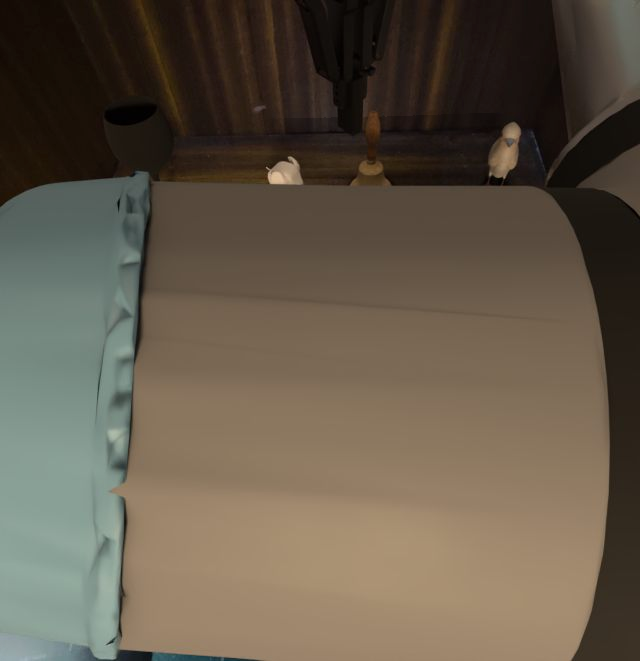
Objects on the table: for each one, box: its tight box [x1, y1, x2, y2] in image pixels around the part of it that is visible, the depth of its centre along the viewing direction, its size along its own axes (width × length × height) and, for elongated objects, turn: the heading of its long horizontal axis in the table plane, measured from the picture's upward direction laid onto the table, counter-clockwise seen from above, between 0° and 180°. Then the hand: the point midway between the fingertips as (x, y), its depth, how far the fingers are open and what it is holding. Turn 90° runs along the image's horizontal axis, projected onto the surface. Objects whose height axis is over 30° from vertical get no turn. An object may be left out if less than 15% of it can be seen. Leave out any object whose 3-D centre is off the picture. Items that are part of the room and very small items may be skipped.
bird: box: [482, 121, 522, 186], centre depth 91 cm, size 5×14×15 cm, turn 163°
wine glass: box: [102, 94, 175, 182], centre depth 90 cm, size 10×10×20 cm
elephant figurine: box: [265, 155, 305, 185], centre depth 97 cm, size 7×8×6 cm
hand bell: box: [349, 109, 393, 186], centre depth 92 cm, size 8×8×16 cm
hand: (350, 128), depth 60 cm, fingers closed
